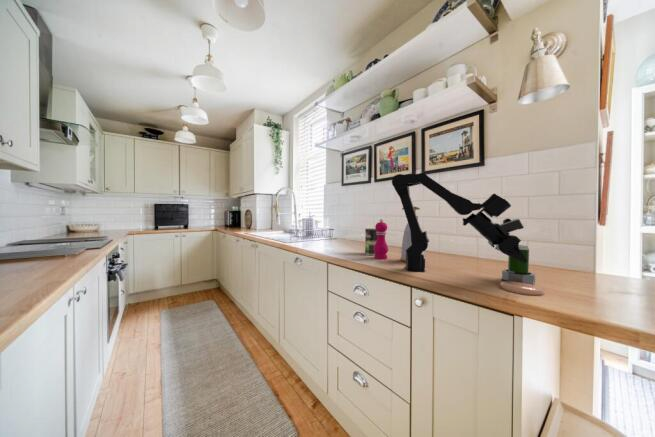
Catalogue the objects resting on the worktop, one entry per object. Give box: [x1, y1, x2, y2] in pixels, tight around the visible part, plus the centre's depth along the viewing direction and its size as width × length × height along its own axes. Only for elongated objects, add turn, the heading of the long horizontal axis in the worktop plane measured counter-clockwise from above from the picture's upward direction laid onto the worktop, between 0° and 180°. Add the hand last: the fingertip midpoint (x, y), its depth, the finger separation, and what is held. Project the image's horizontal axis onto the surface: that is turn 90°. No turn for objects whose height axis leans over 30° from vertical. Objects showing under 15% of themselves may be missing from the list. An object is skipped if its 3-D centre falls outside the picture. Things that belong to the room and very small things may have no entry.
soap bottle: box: [400, 206, 425, 263], centre depth 111 cm, size 11×12×26 cm
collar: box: [501, 268, 536, 285], centre depth 79 cm, size 8×8×3 cm
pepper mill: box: [374, 218, 389, 260], centre depth 118 cm, size 7×7×20 cm
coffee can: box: [364, 228, 377, 257], centre depth 130 cm, size 10×10×14 cm
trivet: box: [500, 280, 545, 296], centre depth 69 cm, size 10×10×1 cm
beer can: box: [507, 244, 530, 275], centre depth 79 cm, size 5×5×12 cm
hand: (523, 260), depth 78 cm, fingers closed on beer can, 5 cm apart
